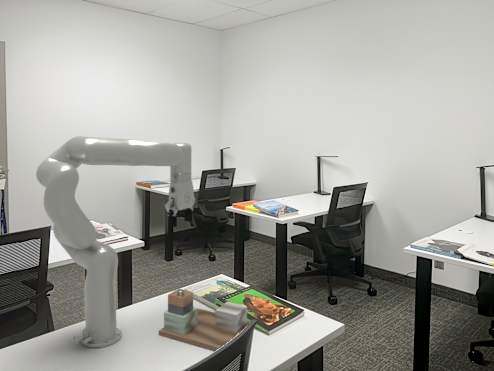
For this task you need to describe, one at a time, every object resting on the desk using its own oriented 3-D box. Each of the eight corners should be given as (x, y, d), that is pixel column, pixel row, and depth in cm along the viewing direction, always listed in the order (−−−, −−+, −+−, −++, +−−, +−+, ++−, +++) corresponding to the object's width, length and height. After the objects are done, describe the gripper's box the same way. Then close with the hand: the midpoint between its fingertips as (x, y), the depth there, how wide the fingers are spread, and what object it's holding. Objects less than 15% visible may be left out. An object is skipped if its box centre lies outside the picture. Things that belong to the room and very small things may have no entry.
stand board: (221, 353, 130) (222, 330, 129) (158, 334, 141) (158, 313, 140) (251, 325, 149) (251, 305, 148) (193, 311, 160) (193, 292, 159)
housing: (182, 315, 139) (183, 295, 138) (167, 311, 141) (168, 291, 140) (193, 309, 144) (193, 289, 143) (178, 305, 146) (178, 286, 146)
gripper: (175, 180, 144) (175, 230, 146) (202, 175, 159) (202, 220, 161) (157, 179, 147) (157, 227, 149) (186, 174, 162) (186, 218, 165)
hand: (180, 223), depth 155 cm, fingers open, 9 cm apart
